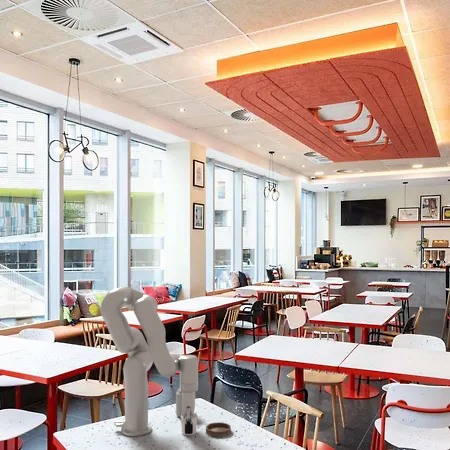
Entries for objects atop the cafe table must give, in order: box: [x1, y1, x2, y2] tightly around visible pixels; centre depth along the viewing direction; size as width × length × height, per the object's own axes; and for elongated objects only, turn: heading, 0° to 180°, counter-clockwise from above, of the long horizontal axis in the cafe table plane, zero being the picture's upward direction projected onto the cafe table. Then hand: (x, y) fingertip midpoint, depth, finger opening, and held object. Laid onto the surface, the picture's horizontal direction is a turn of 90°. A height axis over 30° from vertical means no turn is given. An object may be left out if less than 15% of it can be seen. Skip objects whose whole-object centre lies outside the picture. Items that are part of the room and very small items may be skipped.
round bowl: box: [205, 422, 232, 438], centre depth 200 cm, size 10×10×2 cm
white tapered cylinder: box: [180, 412, 198, 436], centre depth 200 cm, size 7×7×7 cm
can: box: [175, 387, 182, 419], centre depth 220 cm, size 8×8×12 cm
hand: (189, 429), depth 200 cm, fingers closed on white tapered cylinder, 6 cm apart
